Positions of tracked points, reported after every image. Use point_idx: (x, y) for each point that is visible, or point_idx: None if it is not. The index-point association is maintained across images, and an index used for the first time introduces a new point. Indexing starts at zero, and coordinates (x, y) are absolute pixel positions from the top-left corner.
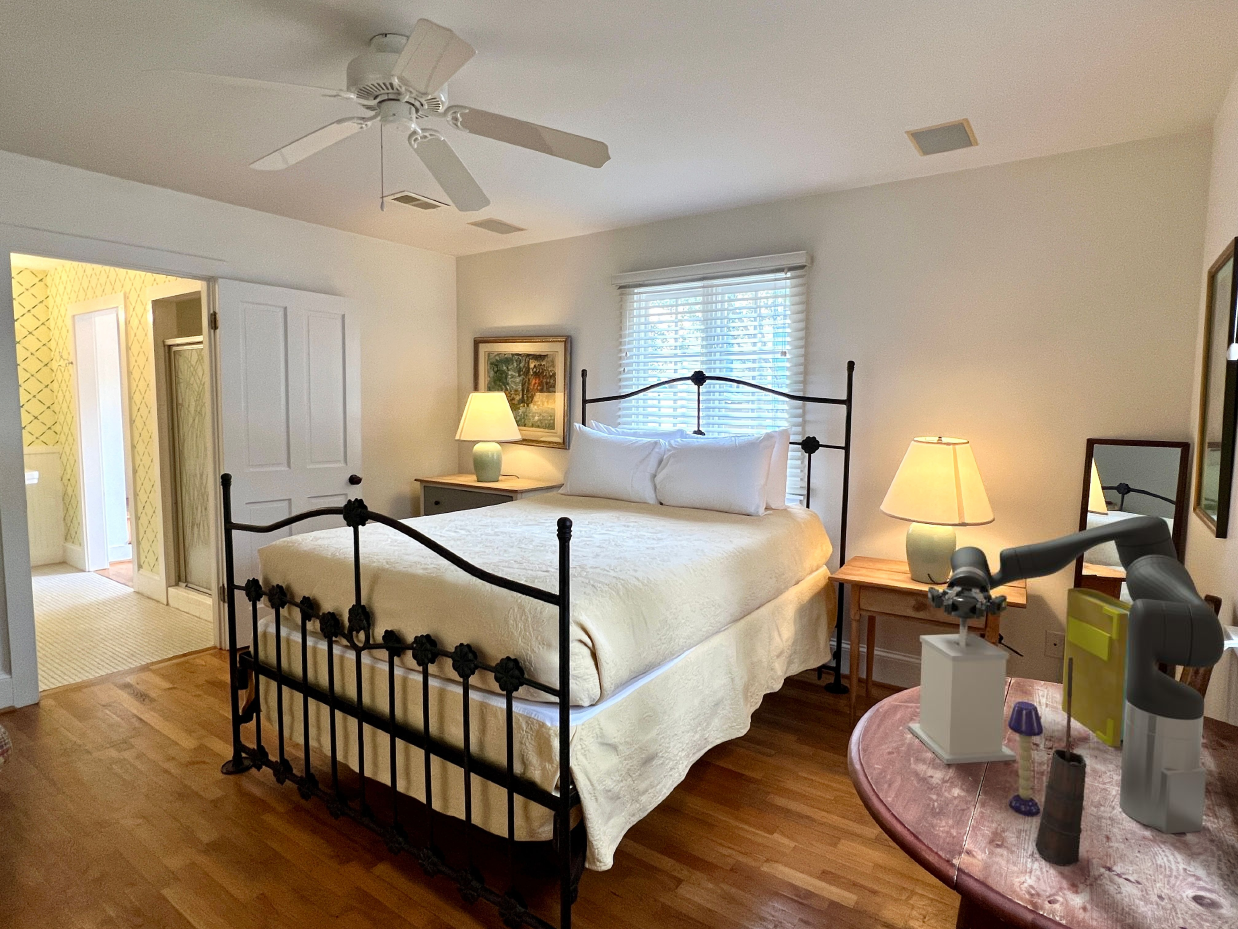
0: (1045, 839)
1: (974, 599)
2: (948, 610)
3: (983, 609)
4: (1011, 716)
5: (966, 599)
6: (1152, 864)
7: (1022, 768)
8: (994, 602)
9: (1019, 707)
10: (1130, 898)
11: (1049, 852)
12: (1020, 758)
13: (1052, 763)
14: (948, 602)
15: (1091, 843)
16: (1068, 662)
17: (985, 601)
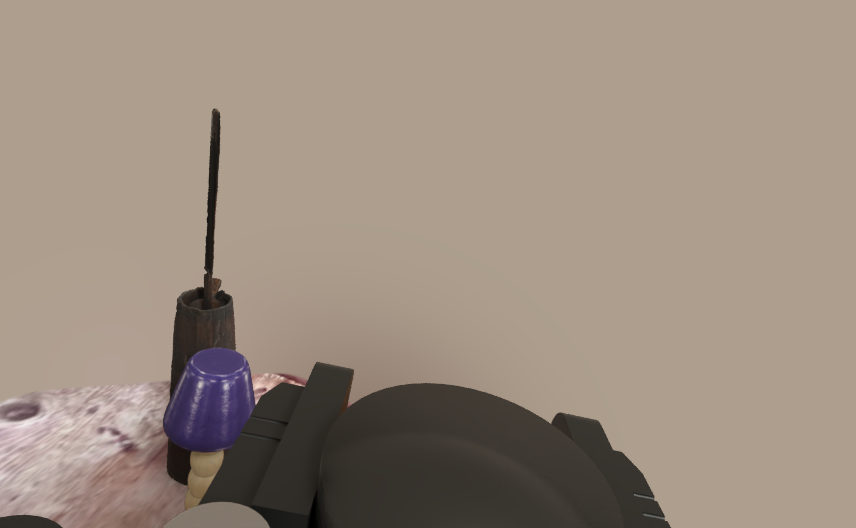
0: None
1: (349, 484)
2: None
3: (282, 385)
4: (253, 396)
5: (451, 462)
6: (24, 469)
7: None
8: (17, 520)
9: (243, 356)
10: (144, 404)
11: None
12: None
13: (232, 319)
14: (598, 430)
15: (106, 501)
16: (219, 122)
17: (170, 525)
